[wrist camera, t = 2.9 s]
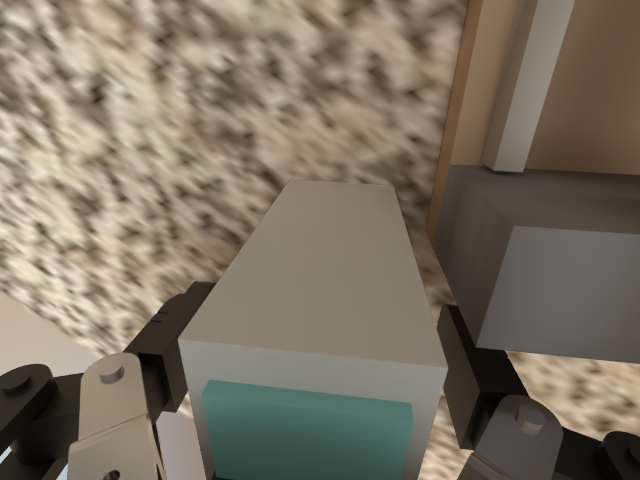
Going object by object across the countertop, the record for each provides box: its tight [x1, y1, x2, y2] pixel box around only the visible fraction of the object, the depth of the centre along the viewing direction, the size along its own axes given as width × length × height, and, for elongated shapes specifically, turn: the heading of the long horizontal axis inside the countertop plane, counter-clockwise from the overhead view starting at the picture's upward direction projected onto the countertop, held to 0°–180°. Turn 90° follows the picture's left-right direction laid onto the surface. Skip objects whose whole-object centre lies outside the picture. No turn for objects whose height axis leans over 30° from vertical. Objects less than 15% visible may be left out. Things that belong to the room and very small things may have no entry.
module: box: [178, 179, 448, 480], centre depth 11 cm, size 4×8×9 cm, turn 178°
